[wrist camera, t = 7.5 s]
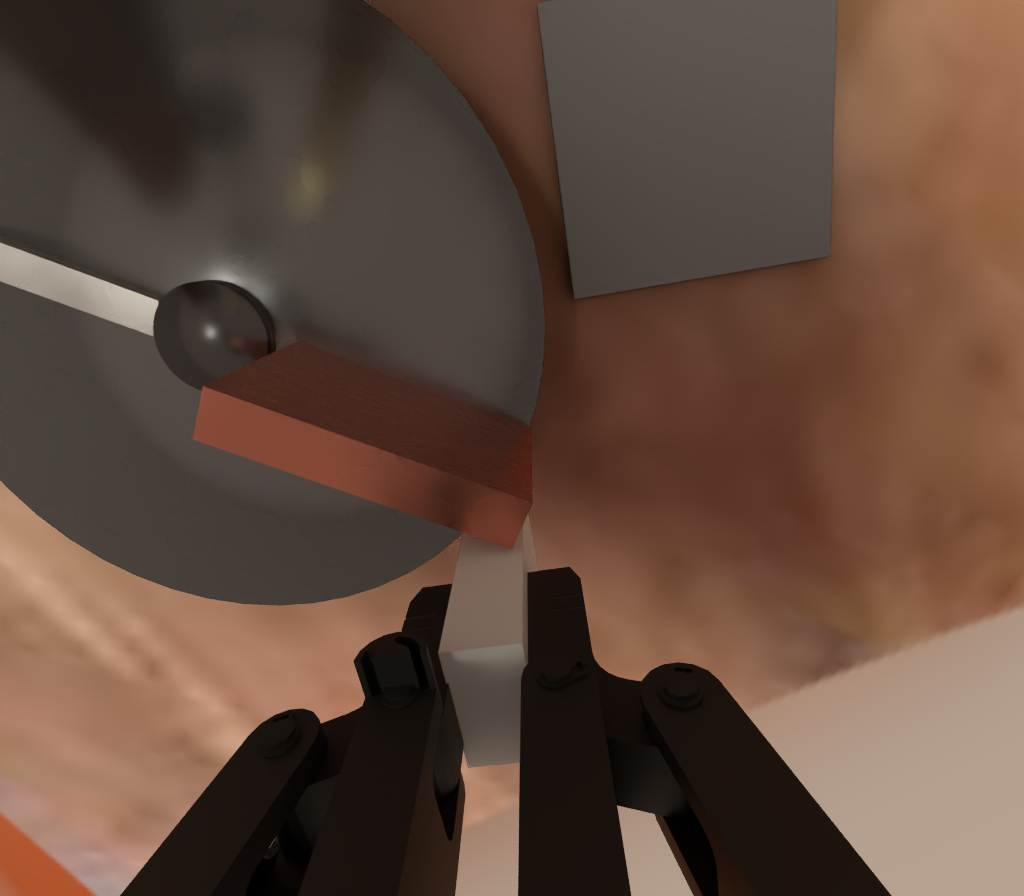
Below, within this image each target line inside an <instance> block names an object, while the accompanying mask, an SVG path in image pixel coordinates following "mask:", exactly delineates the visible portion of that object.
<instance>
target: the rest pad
mask: <svg viewBox="0 0 1024 896" xmlns="http://www.w3.org/2000/svg"><path fill="white" fill-rule="evenodd" d="M836 11H837V0H550V1H545V2H540V3H537V13H538V21H539V29H540V37H541V45H542V53H543V61H544V69H545V77H546V85H547V92H548V100H549V108H550V116H551V124H552V132H553V140H554V148H555V156H556V163H557V171H558V179H559V187H560V195H561V203H562V211H563V219H564V227H565V234H566V242H567V250H568V258H569V266H570V274H571V282H572V290H573V298H574V299H579V298H585V297H591V296H597V295H603V294H609V293H615V292H621V291H627V290H633V289H639V288H644V287H650V286H656V285H662V284H668V283H674V282H680V281H686V280H692V279H698V278H704V277H710V276H715V275H721V274H727V273H733V272H739V271H745V270H751V269H757V268H763V267H769V266H775V265H781V264H787V263H792V262H798V261H804V260H810V259H816V258H822V257H828V256H830V244H831V205H832V167H833V128H834V89H835V50H836Z"/></svg>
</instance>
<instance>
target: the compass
mask: <svg viewBox="0 0 1024 896" xmlns="http://www.w3.org/2000/svg"><path fill="white" fill-rule="evenodd" d="M544 342H545V315H544V302H543V288H542V280H541V275H540V270H539V265H538V260H537V255H536V250H535V245H534V240H533V236H532V233H531V230H530V227H529V224H528V221H527V218H526V215H525V212H524V209H523V206H522V203H521V200H520V197H519V194H518V191H517V189H516V187H515V185H514V183H513V181H512V179H511V177H510V175H509V172H508V170H507V168H506V166H505V164H504V162H503V160H502V158H501V156H500V154H499V152H498V150H497V148H496V145H495V144H494V142H493V141H492V139H491V137H490V136H489V134H488V133H487V131H486V130H485V128H484V127H483V125H482V123H481V122H480V120H479V119H478V117H477V116H476V114H475V113H474V111H473V109H472V108H471V106H470V105H469V103H468V102H467V100H466V99H465V98H464V96H463V95H462V94H461V93H460V92H459V90H458V89H457V88H456V87H455V86H454V84H453V83H452V82H451V81H450V80H449V78H448V77H447V76H446V75H445V74H444V72H443V71H442V70H441V69H440V68H439V66H438V65H437V64H436V63H435V62H434V60H433V59H432V58H431V57H430V56H429V55H428V54H427V53H426V52H424V51H423V50H422V49H421V48H420V47H419V46H418V45H417V44H416V43H415V42H414V41H413V40H412V39H410V38H409V37H408V36H407V35H406V34H405V33H404V32H403V31H402V30H401V29H400V28H399V27H398V26H397V25H395V24H394V23H393V22H392V21H391V20H390V19H388V18H387V17H386V16H384V15H383V14H381V13H380V12H379V11H377V10H376V9H374V8H373V7H372V6H370V5H369V4H367V3H366V2H365V1H363V0H0V480H1V481H2V483H3V484H4V485H5V486H6V487H7V488H8V489H9V490H10V491H12V492H13V493H14V494H15V495H16V496H17V497H18V498H19V499H20V500H21V501H23V502H24V503H25V504H26V505H27V506H28V507H29V508H30V509H31V510H32V511H34V512H35V513H36V514H37V515H38V516H40V517H41V518H42V519H44V520H45V521H46V522H48V523H49V524H50V525H52V526H53V527H54V528H56V529H57V530H58V531H60V532H61V533H62V534H64V535H65V536H66V537H68V538H69V539H70V540H72V541H74V542H75V543H77V544H79V545H80V546H82V547H84V548H85V549H87V550H88V551H90V552H92V553H93V554H95V555H97V556H98V557H100V558H102V559H103V560H105V561H107V562H109V563H112V564H114V565H116V566H118V567H120V568H122V569H124V570H126V571H128V572H130V573H132V574H134V575H136V576H138V577H141V578H144V579H147V580H149V581H152V582H155V583H157V584H160V585H163V586H166V587H168V588H171V589H174V590H178V591H182V592H185V593H189V594H193V595H197V596H201V597H205V598H209V599H215V600H222V601H228V602H235V603H242V604H259V605H291V604H306V603H316V602H321V601H327V600H332V599H337V598H343V597H347V596H351V595H354V594H357V593H360V592H363V591H367V590H370V589H373V588H376V587H379V586H381V585H383V584H385V583H388V582H390V581H392V580H394V579H396V578H399V577H401V576H403V575H405V574H407V573H409V572H411V571H412V570H414V569H416V568H417V567H419V566H420V565H422V564H424V563H425V562H427V561H428V560H430V559H432V558H433V557H435V556H436V555H438V554H439V553H440V552H441V551H442V550H444V549H445V548H446V547H447V546H448V545H450V544H451V543H452V542H453V541H454V540H456V539H457V538H458V537H459V536H460V535H462V534H463V533H466V534H469V535H472V536H475V537H478V538H481V539H484V540H486V541H489V542H492V543H495V544H498V545H501V546H504V547H507V548H510V549H513V547H514V544H515V542H516V540H517V537H518V535H519V533H520V531H521V528H522V526H523V524H524V521H525V519H526V517H527V515H528V512H529V510H530V508H531V506H532V503H533V501H532V463H531V427H529V426H530V423H531V420H532V417H533V414H534V411H535V408H536V403H537V398H538V393H539V387H540V382H541V377H542V372H543V360H544Z"/></svg>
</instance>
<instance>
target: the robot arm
mask: <svg viewBox="0 0 1024 896" xmlns="http://www.w3.org/2000/svg"><path fill="white" fill-rule="evenodd" d="M354 664H355V667H356V670H357V673H358V676H359V679H360V683H361V686H362V689H363V692H364V695H365V700H364V703H363V706H362V707H360V708H359V709H357V710H355V711H352V712H350V713H348V714H346V715H343V716H340V717H338V718H335V719H332V720H330V721H327V722H324V723H322V724H321V723H320V720H319V719H318V717H317V716H316V715H315V713H314V712H312V711H309V710H306V709H292V710H287V711H285V712H282V713H279V714H276V715H274V716H273V717H271V718H269V719H268V720H266V721H265V722H263V723H261V724H260V725H259V726H258V727H257V728H256V729H255V730H254V731H253V732H252V733H251V734H250V735H249V736H248V737H247V739H246V740H245V741H244V742H243V743H242V745H241V746H240V747H239V748H238V750H237V751H236V752H235V753H234V755H233V756H232V757H231V758H230V760H229V761H228V762H227V763H226V765H225V766H224V767H223V768H222V770H221V771H220V772H219V773H218V775H217V776H216V777H215V778H214V780H213V781H212V782H211V783H210V785H209V786H208V787H207V788H206V790H205V791H204V792H203V793H202V794H201V796H200V797H199V798H198V799H197V801H196V802H195V803H194V804H193V806H192V807H191V808H190V809H189V811H188V812H187V813H186V814H185V816H184V817H183V818H182V819H181V821H180V822H179V823H178V824H177V826H176V827H175V828H174V829H173V831H172V832H171V833H170V834H169V836H168V837H167V838H166V839H165V841H164V842H163V843H162V844H161V845H160V847H159V848H158V849H157V850H156V852H155V853H154V854H153V855H152V857H151V858H150V859H149V860H148V862H147V863H146V864H145V865H144V867H143V868H142V869H141V870H140V872H139V873H138V874H137V875H136V877H135V878H134V879H133V880H132V882H131V883H130V884H129V885H128V887H127V888H126V889H125V890H124V891H123V893H122V894H121V895H120V896H455V890H456V880H457V871H458V860H459V852H460V842H461V833H462V823H463V813H464V804H465V786H464V781H463V777H462V773H461V763H462V754H463V750H464V754H465V758H466V761H467V765H468V768H470V767H480V766H489V765H499V764H508V763H518V762H520V796H519V876H518V879H519V880H518V882H519V883H518V896H631V891H630V885H629V879H628V872H627V866H626V860H625V853H624V848H623V841H622V834H621V828H620V822H619V815H618V810H617V805H618V806H623V807H627V808H631V809H636V810H640V811H644V812H649V813H653V814H655V816H656V820H657V822H658V824H659V826H660V828H661V830H662V832H663V834H664V836H665V838H666V840H667V842H668V844H669V846H670V848H671V850H672V853H673V854H674V857H675V859H676V861H677V863H678V865H679V867H680V869H681V871H682V873H683V875H684V877H685V879H686V881H687V883H688V885H689V887H690V889H691V891H692V893H693V895H694V896H891V895H890V893H889V892H888V891H887V890H886V888H885V887H884V886H883V885H882V883H881V882H880V881H879V880H878V878H877V877H876V876H875V875H874V873H873V872H872V871H871V870H870V868H869V867H868V866H867V865H866V863H865V862H864V861H863V859H862V858H861V857H860V856H859V855H858V853H857V852H856V851H855V850H854V848H853V847H852V846H851V844H850V843H849V842H848V841H847V840H846V838H845V837H844V836H843V834H842V833H841V832H840V831H839V830H838V828H837V827H836V826H835V824H834V823H833V822H832V821H831V819H830V818H829V817H828V816H827V815H826V813H825V812H824V811H823V809H822V808H821V807H820V806H819V804H818V803H817V802H816V801H815V799H814V798H813V797H812V796H811V795H810V793H809V792H808V791H807V790H806V788H805V787H804V786H803V784H802V783H801V782H800V781H799V779H798V778H797V777H796V776H795V775H794V773H793V772H792V771H791V769H790V768H789V767H788V766H787V764H786V763H785V762H784V761H783V760H782V758H781V757H780V756H779V755H778V753H777V752H776V751H775V749H774V748H773V747H772V746H771V744H770V743H769V742H768V741H767V739H766V738H765V737H764V736H763V735H762V733H761V732H760V731H759V729H758V728H757V727H756V726H755V725H754V723H753V722H752V721H751V719H750V718H749V717H748V716H747V714H746V713H745V712H744V711H743V709H742V708H741V707H740V706H739V704H738V703H737V702H736V701H735V699H734V698H733V697H732V696H731V694H730V693H729V692H728V691H727V689H726V688H725V687H724V686H723V684H722V683H721V682H720V681H719V680H718V679H717V678H716V677H715V676H714V675H713V674H711V673H710V672H709V671H708V670H705V669H703V668H701V667H698V666H696V665H694V664H686V663H678V662H677V663H671V664H664V665H661V666H659V667H657V668H655V669H653V670H651V671H650V672H649V673H648V674H647V675H646V676H645V678H644V679H643V680H642V681H635V680H628V679H624V678H620V677H617V676H614V675H612V674H610V673H608V672H607V671H605V670H604V669H603V668H601V667H600V666H599V664H598V663H597V662H596V661H595V659H594V656H593V653H592V648H591V641H590V635H589V629H588V623H587V617H586V610H585V604H584V598H583V592H582V585H581V579H580V577H579V576H578V575H577V574H576V573H575V572H574V571H573V570H572V569H571V568H570V567H565V568H557V569H549V570H542V571H538V566H537V560H536V555H535V549H534V543H533V538H532V532H531V526H530V521H529V515H527V517H526V519H525V521H524V524H523V526H522V528H521V531H520V533H519V535H518V537H517V540H516V542H515V544H514V547H513V549H510V548H507V547H504V546H501V545H498V544H495V543H492V542H489V541H486V540H484V539H481V538H478V537H475V536H472V535H469V534H466V533H463V536H462V541H461V545H460V550H459V555H458V560H457V565H456V570H455V574H454V579H453V584H447V585H439V586H432V587H424V588H422V589H421V591H420V592H419V593H418V594H417V595H416V596H415V597H414V598H413V600H412V601H411V602H410V605H409V608H408V611H407V615H406V620H405V621H404V624H403V627H402V632H396V633H392V634H388V635H384V636H382V637H380V638H378V639H376V640H374V641H372V642H370V643H369V644H368V645H367V646H365V647H364V648H363V649H362V650H361V651H360V652H359V653H358V655H357V657H356V658H355V660H354ZM274 839H275V840H274ZM273 841H274V842H273ZM272 842H273V843H272ZM271 844H272V845H271ZM270 845H271V846H270ZM269 847H270V848H269ZM268 848H269V849H268Z"/></svg>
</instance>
